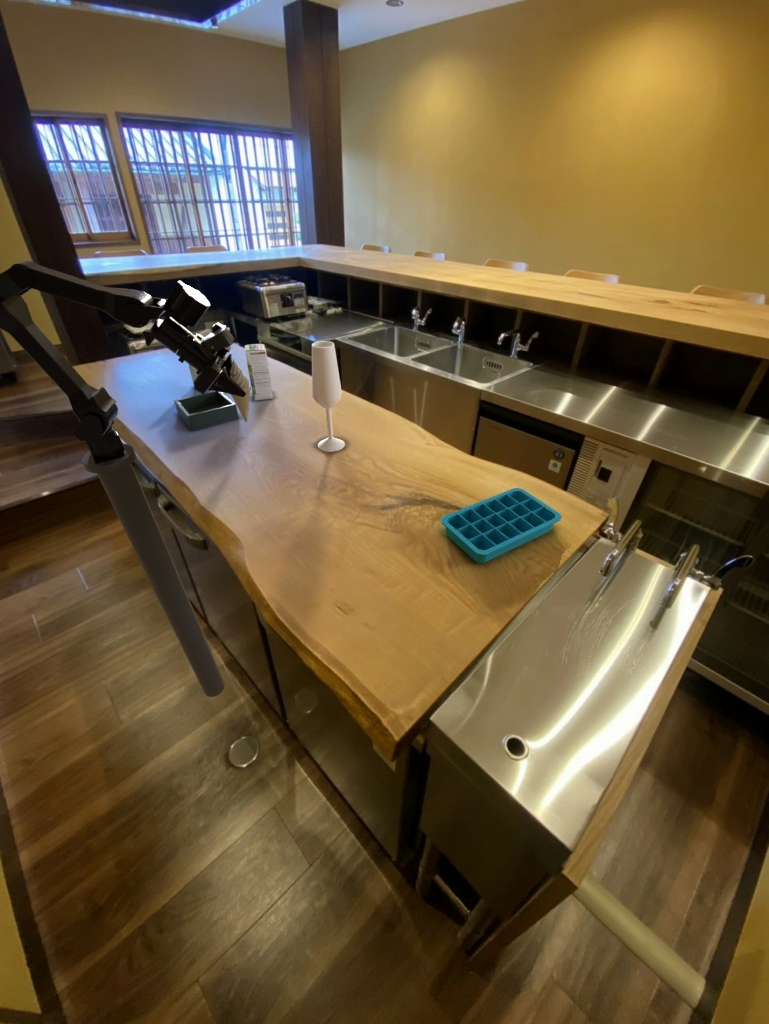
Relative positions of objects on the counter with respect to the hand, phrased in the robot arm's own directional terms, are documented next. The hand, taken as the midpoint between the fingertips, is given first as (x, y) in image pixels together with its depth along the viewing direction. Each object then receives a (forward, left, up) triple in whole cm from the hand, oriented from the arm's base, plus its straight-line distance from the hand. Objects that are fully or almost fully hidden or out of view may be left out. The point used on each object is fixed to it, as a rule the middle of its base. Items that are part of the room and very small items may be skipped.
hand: (246, 391), depth 98 cm
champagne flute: (+14, -13, -13) cm, 23 cm away
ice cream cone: (-1, +1, -8) cm, 8 cm away
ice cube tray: (+22, -60, -13) cm, 65 cm away
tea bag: (+2, +43, -13) cm, 45 cm away
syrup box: (+13, +25, -13) cm, 31 cm away
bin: (-5, +21, -13) cm, 25 cm away
